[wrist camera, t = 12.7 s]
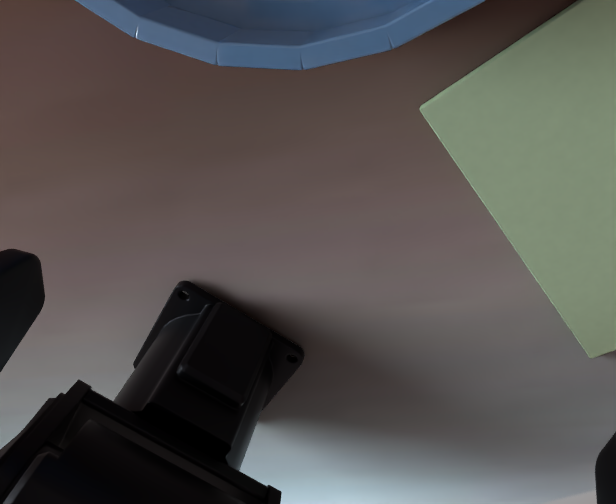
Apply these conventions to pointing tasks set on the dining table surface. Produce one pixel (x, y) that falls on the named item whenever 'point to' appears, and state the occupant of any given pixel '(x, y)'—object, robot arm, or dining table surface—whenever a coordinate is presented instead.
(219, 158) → the dining table surface
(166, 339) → the robot arm
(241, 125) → the dining table surface
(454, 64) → the dining table surface
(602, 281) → the placemat
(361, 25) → the blue bowl
